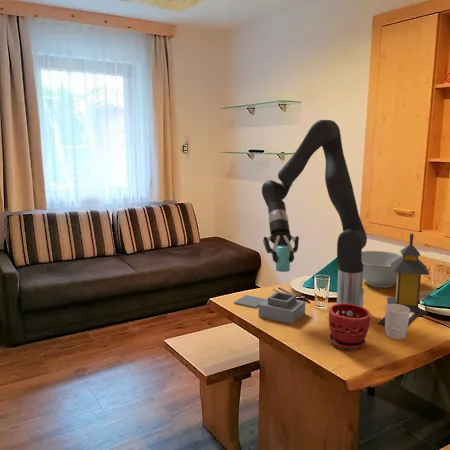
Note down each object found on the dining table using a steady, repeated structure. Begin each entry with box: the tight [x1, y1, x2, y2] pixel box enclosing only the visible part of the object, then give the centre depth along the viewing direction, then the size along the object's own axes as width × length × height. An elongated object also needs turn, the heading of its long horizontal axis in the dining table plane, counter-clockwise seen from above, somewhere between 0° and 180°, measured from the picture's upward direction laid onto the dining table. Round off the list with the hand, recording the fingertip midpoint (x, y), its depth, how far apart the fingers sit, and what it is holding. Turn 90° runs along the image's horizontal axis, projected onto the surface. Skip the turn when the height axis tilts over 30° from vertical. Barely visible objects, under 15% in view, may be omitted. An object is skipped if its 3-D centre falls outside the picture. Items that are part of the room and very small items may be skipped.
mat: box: [233, 294, 267, 309], centre depth 188 cm, size 10×10×1 cm
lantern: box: [386, 233, 430, 316], centre depth 179 cm, size 14×14×30 cm
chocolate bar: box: [377, 312, 419, 327], centre depth 169 cm, size 9×1×18 cm
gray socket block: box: [258, 291, 306, 325], centre depth 173 cm, size 14×12×8 cm
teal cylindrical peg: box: [275, 245, 291, 273], centre depth 169 cm, size 5×5×9 cm
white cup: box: [384, 303, 410, 340], centre depth 155 cm, size 8×8×10 cm
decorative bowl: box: [361, 250, 402, 289], centre depth 209 cm, size 27×27×12 cm
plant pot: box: [328, 303, 371, 351], centre depth 148 cm, size 13×13×12 cm
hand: (283, 261), depth 168 cm, fingers closed on teal cylindrical peg, 5 cm apart
